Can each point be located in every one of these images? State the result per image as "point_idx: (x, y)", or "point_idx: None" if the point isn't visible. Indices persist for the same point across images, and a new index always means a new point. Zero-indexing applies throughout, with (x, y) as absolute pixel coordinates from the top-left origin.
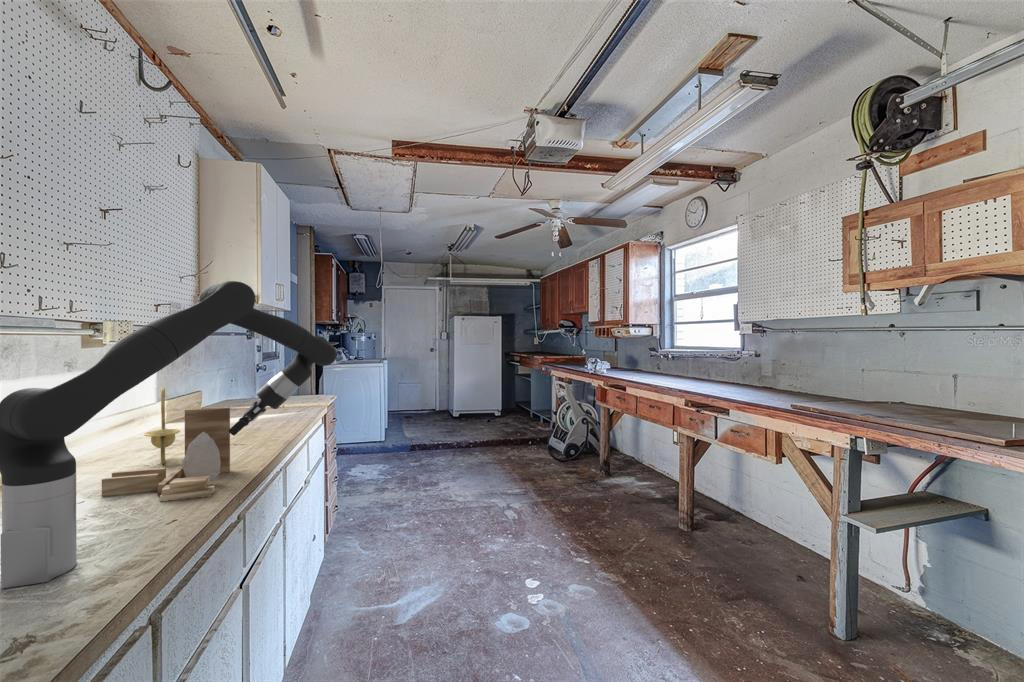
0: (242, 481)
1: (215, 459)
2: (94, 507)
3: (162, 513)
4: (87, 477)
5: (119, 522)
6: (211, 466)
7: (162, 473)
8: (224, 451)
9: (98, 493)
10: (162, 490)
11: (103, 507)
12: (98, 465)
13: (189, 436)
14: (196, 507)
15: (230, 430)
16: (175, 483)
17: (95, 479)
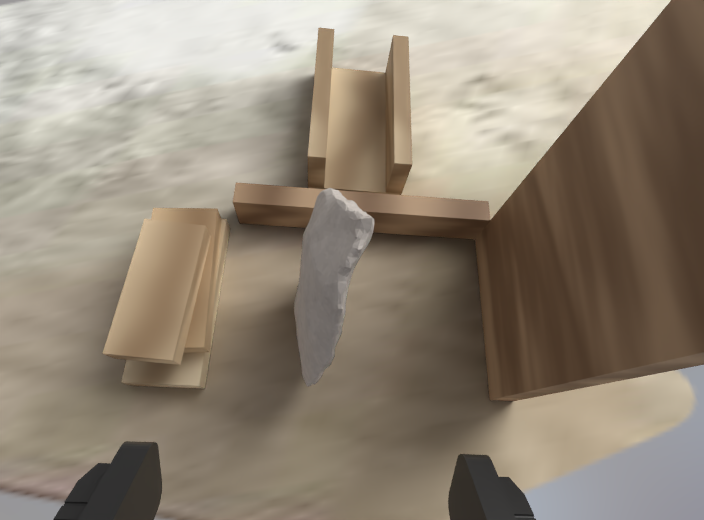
0: (306, 493)
1: (306, 353)
2: (214, 81)
3: (17, 258)
4: (534, 9)
5: (10, 164)
6: (300, 343)
7: (391, 168)
8: (536, 364)
9: (355, 61)
10: (153, 211)
11: (200, 99)
12: (658, 4)
13: (564, 155)
14: (8, 358)
15: (93, 468)
16: (139, 240)
17: (507, 27)
